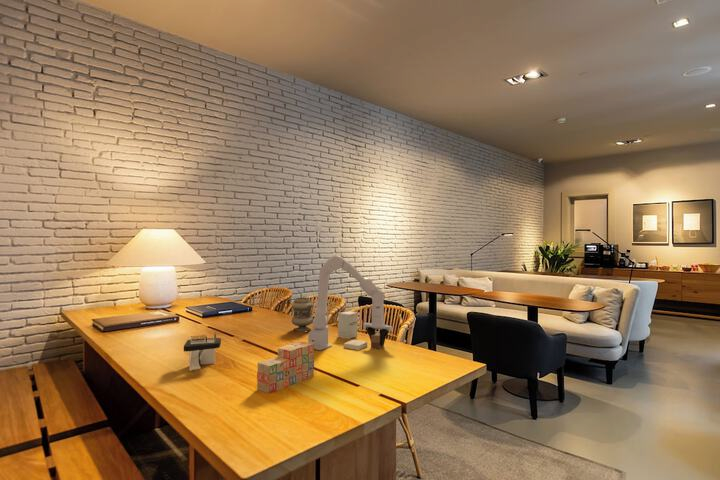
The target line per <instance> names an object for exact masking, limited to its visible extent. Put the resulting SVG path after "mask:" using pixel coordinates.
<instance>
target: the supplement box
mask: <svg viewBox="0 0 720 480" xmlns="http://www.w3.org/2000/svg"><path fill="white" fill-rule="evenodd" d="M337 320H338V321H337V322H338V324H337V326H338V327H337V328H338V329H337V337H338V338H341V339H346V340H349V339H352V338H356V337H357V336H358V312H355V311H343V312H341V311H340V312H338V316H337Z"/></svg>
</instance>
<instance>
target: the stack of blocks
mask: <svg viewBox="0 0 720 480" xmlns="http://www.w3.org/2000/svg"><path fill="white" fill-rule="evenodd" d="M314 363H315V349H314V344H312V343H308V342H307V341H299V342H294V343H290V344H288V345H284V346H280V347H278V348H277V356H275V357H271V358H268V359H265V360H262V361H258V362H257V374H256V376H257V377H256V380H257V381H256V383H257V384H256V390H258V391H261V392H263V393H266V394H272V393H274V392H277V391H280V390H282V389H284V388H285V389H286V388H288V387H290V386H292V385H295V384H297V383H300V382H302V381H305V380H309V379H310V378H311V379H312V378H313V377H314V375H315V368H314V367H315V364H314Z"/></svg>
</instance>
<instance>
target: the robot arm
mask: <svg viewBox="0 0 720 480" xmlns="http://www.w3.org/2000/svg"><path fill="white" fill-rule="evenodd" d="M339 269H341V271H344V272H347V273H348V274H349V275H351V276H352V277H353V278H354V279H355V280H356V281H357V282H358V283H359V288H361V290H362V291H363V292H365V294H366V295H367V296H368V297H371V299H372V300H371V301H372V305H371V322H364V323H363V328H365V329H366V332H367V335H368V336H369V340H370V341H371V335H372V334H375V333H376V330H379V332H378V333H379V334H380V344H381V346H382V345H384V346H385V342H386V338H387V336H388V333H389V332H392V331H393V326H392V325H388V324H385V321H384V320H385V318H384V317H385V313H384V312H385V304H384V300H385V294H384V292H383V291H382V289H380V286H377V285H376V284H375V283H374V282H373V279H371V278H369V277H364V276H363V275H362V274H361V273H360V272H359V271H358V270H357V269H356V268H355V267H354V266H353V265H352V264H351V263H350V262H349V261H348V260H347V259H345V258H343V257H342V256H341V255H338V254H336V255H333V256H332V257H330V258H328V259H327V260H326V262H325V263H324V264H323V266H322V267H321V268H320V269H319V275H318V288H317V289H318V290H317V298H316V299H317V301H316V310H315V316H314V318H313V322H312V325H313V327H312V328H311V331H309V332H308V340H307V341H308V342H307V343H312V344H314V350H317V351H321V350H324V349H327V348H330V347H332V346H333V345H332V344H329V326H328V325H327V323H328V321H329V316H328V312H327V311H328V308H327V307H328V306H327V305H328V296H329V286H330V285H329V284H330V283H329V282H330V275H331V274H332V273H333V272H334V271H337V270H339Z"/></svg>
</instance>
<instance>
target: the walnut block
mask: <svg viewBox="0 0 720 480" xmlns="http://www.w3.org/2000/svg"><path fill="white" fill-rule="evenodd" d="M371 348H372V349H375V348H376V350H380V348H381V349H383V348H385V344H384V345H382V346H381V344H380V333H379V332H378V333H377V332H375V334H372V335H371V340H370V349H371Z"/></svg>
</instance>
